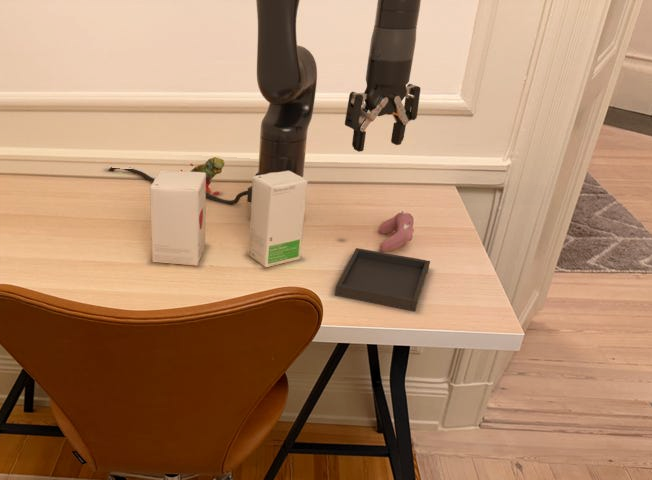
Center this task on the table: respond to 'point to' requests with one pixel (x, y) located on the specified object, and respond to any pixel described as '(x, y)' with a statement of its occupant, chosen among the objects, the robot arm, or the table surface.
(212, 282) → the table surface
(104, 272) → the table surface
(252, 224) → the cosmetic box
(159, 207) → the rectangular carton
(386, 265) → the tray
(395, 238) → the video game controller
